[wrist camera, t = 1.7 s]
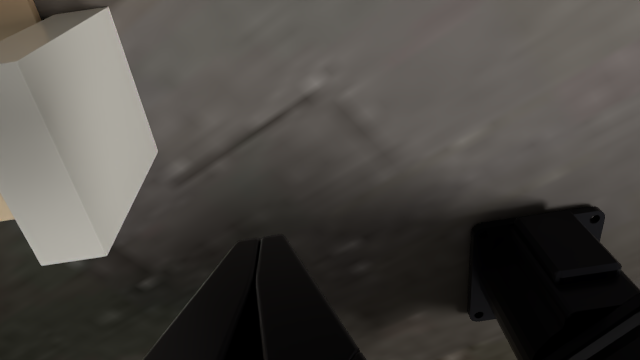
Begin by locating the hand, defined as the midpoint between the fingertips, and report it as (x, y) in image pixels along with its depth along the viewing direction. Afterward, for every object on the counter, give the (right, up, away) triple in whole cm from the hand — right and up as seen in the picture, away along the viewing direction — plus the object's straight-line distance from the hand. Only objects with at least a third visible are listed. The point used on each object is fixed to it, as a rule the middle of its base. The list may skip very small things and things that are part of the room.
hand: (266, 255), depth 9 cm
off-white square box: (-7, +5, +10) cm, 13 cm away
